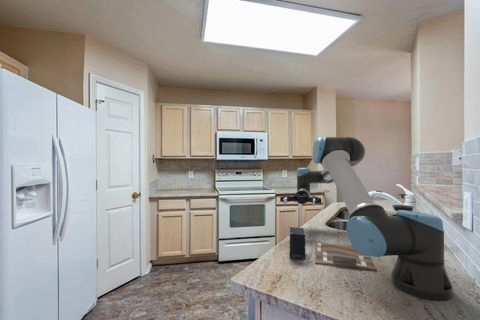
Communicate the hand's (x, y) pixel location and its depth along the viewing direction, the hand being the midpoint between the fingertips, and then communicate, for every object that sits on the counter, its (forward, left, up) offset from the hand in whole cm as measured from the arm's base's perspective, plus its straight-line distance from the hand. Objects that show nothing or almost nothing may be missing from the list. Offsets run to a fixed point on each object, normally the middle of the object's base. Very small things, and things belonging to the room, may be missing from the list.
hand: (298, 202), depth 112 cm
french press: (+23, -49, -21) cm, 58 cm away
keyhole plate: (-7, -18, -20) cm, 28 cm away
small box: (-12, 0, -21) cm, 24 cm away
